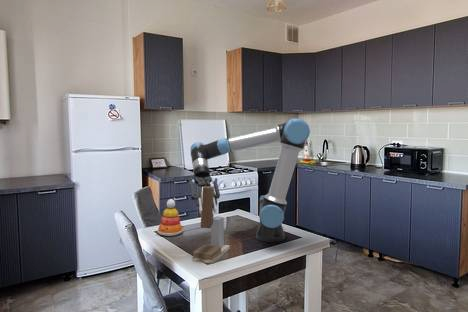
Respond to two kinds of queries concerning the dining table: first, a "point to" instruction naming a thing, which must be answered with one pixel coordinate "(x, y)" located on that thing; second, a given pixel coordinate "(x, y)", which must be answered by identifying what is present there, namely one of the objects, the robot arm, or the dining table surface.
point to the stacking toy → (170, 221)
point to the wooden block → (207, 207)
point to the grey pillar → (217, 231)
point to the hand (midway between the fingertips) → (208, 211)
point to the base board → (223, 249)
